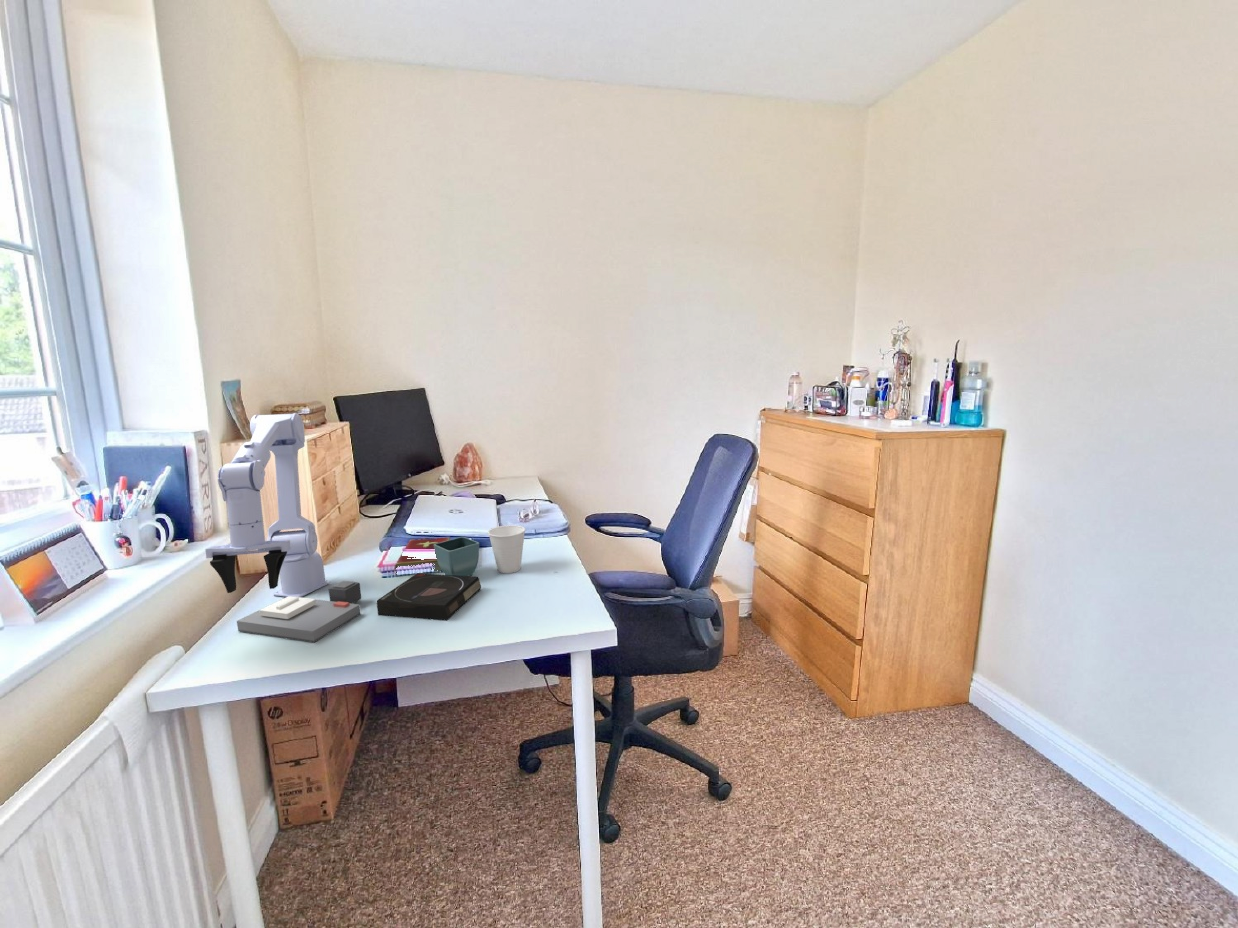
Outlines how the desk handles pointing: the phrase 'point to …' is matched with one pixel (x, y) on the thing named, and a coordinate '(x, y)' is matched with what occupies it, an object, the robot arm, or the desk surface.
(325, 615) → the socket plate
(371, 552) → the desk surface
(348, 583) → the plug
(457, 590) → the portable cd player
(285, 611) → the shutter
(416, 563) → the hardcover book
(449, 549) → the flower pot
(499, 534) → the cup
